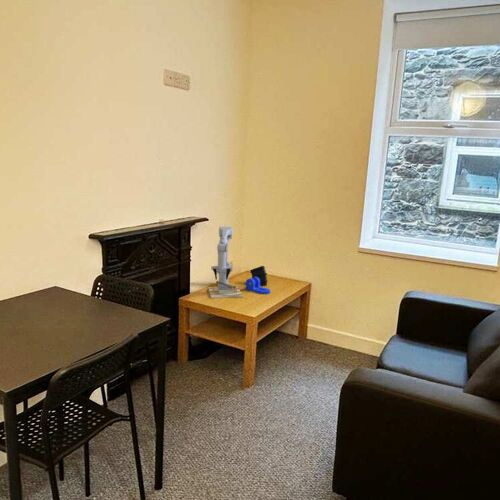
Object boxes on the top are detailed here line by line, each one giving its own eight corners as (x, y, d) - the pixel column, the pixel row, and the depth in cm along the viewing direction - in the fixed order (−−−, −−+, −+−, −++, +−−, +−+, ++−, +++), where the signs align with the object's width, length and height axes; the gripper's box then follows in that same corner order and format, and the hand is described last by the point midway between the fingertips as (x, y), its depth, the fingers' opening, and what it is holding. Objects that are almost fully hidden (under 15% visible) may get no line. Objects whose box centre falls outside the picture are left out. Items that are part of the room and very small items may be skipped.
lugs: (212, 290, 316) (212, 285, 315) (235, 290, 319) (235, 285, 318) (213, 293, 310) (213, 288, 309) (236, 292, 313) (237, 288, 312)
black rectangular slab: (269, 284, 333) (262, 266, 333) (254, 289, 339) (247, 271, 338) (271, 283, 336) (264, 265, 336) (256, 288, 342) (249, 270, 342)
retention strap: (215, 282, 313) (216, 280, 313) (235, 288, 317) (235, 286, 317) (216, 283, 310) (217, 281, 310) (235, 289, 313) (236, 287, 313)
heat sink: (217, 289, 318) (217, 285, 317) (231, 289, 320) (231, 285, 319) (219, 294, 308) (219, 290, 308) (233, 293, 310) (233, 289, 310)
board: (208, 289, 322) (208, 287, 322) (238, 288, 326) (238, 287, 326) (211, 298, 303) (211, 296, 303) (242, 297, 307) (243, 296, 307)
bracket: (245, 289, 325) (245, 278, 323) (252, 287, 332) (252, 275, 330) (265, 295, 315) (266, 283, 313) (272, 292, 321) (272, 280, 319)
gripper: (212, 262, 303) (211, 281, 306) (233, 261, 306) (232, 280, 309) (211, 259, 310) (210, 278, 313) (231, 259, 313) (231, 277, 316)
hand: (221, 279), depth 312 cm, fingers open, 7 cm apart
